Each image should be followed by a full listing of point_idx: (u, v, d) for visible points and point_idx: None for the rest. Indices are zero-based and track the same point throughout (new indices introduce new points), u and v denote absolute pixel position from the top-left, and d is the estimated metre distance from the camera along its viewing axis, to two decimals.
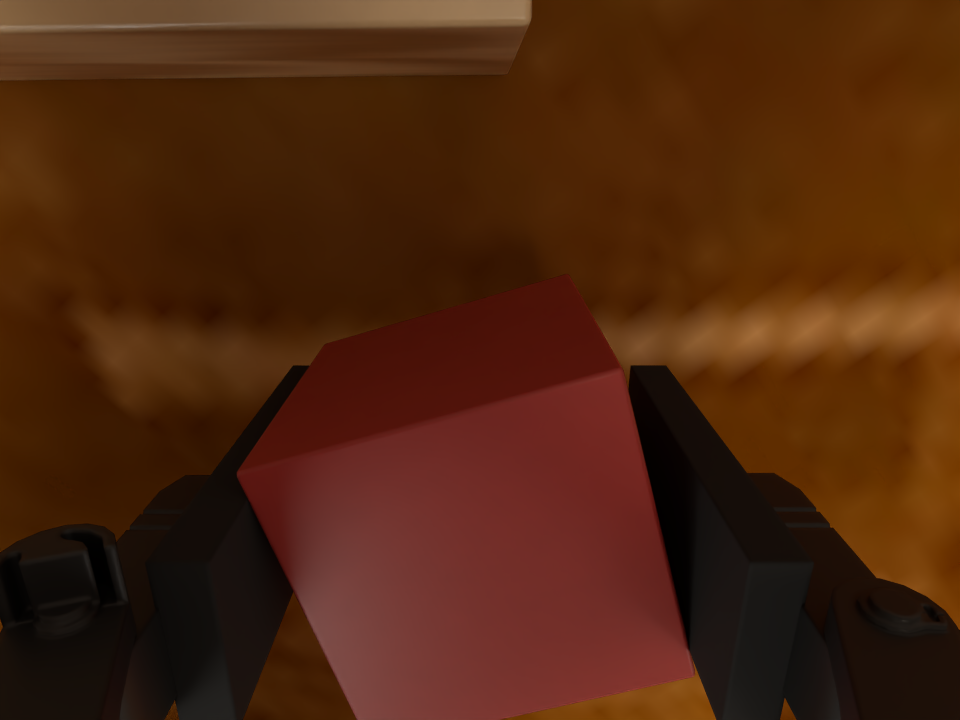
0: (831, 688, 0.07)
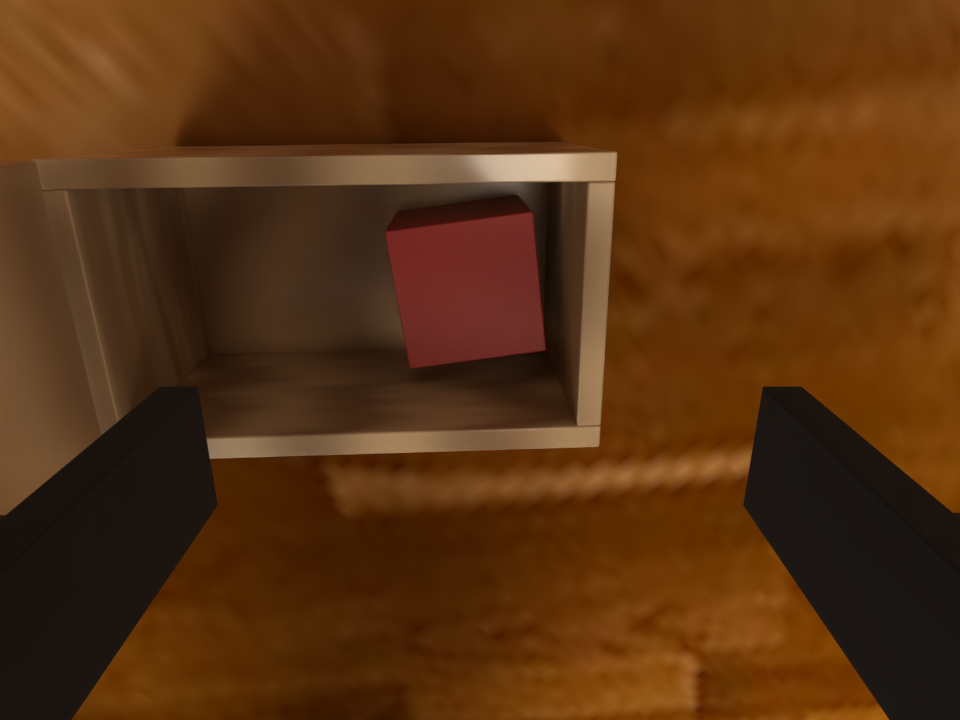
0: None
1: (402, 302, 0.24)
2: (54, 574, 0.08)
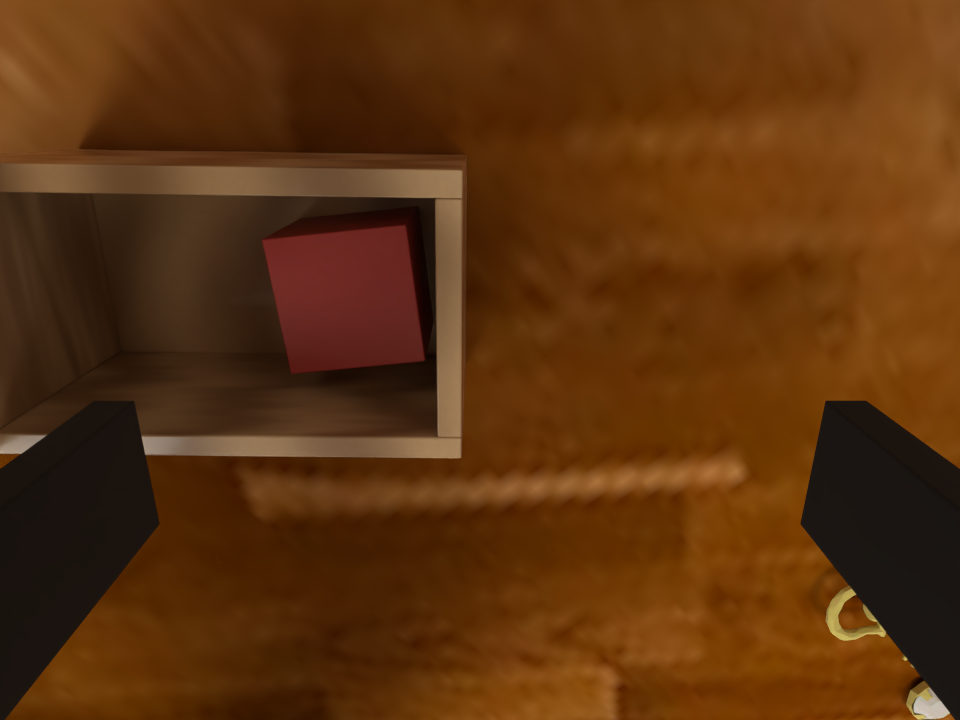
0: None
1: (281, 309, 0.25)
2: None
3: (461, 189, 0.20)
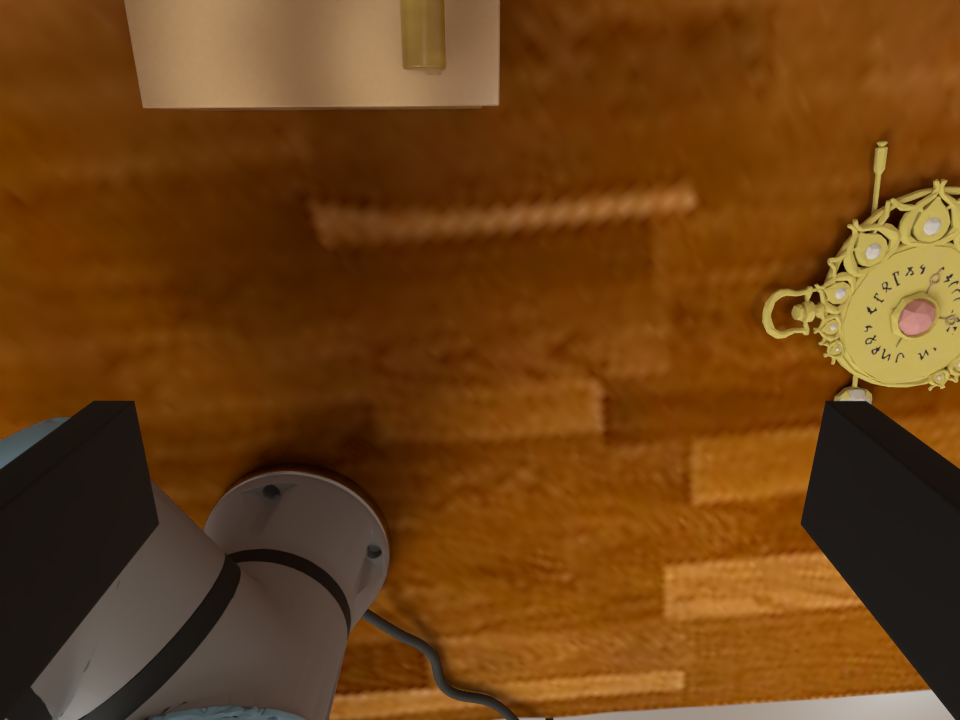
0: None
1: None
2: None
3: None
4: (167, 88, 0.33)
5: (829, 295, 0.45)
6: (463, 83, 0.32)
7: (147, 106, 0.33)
